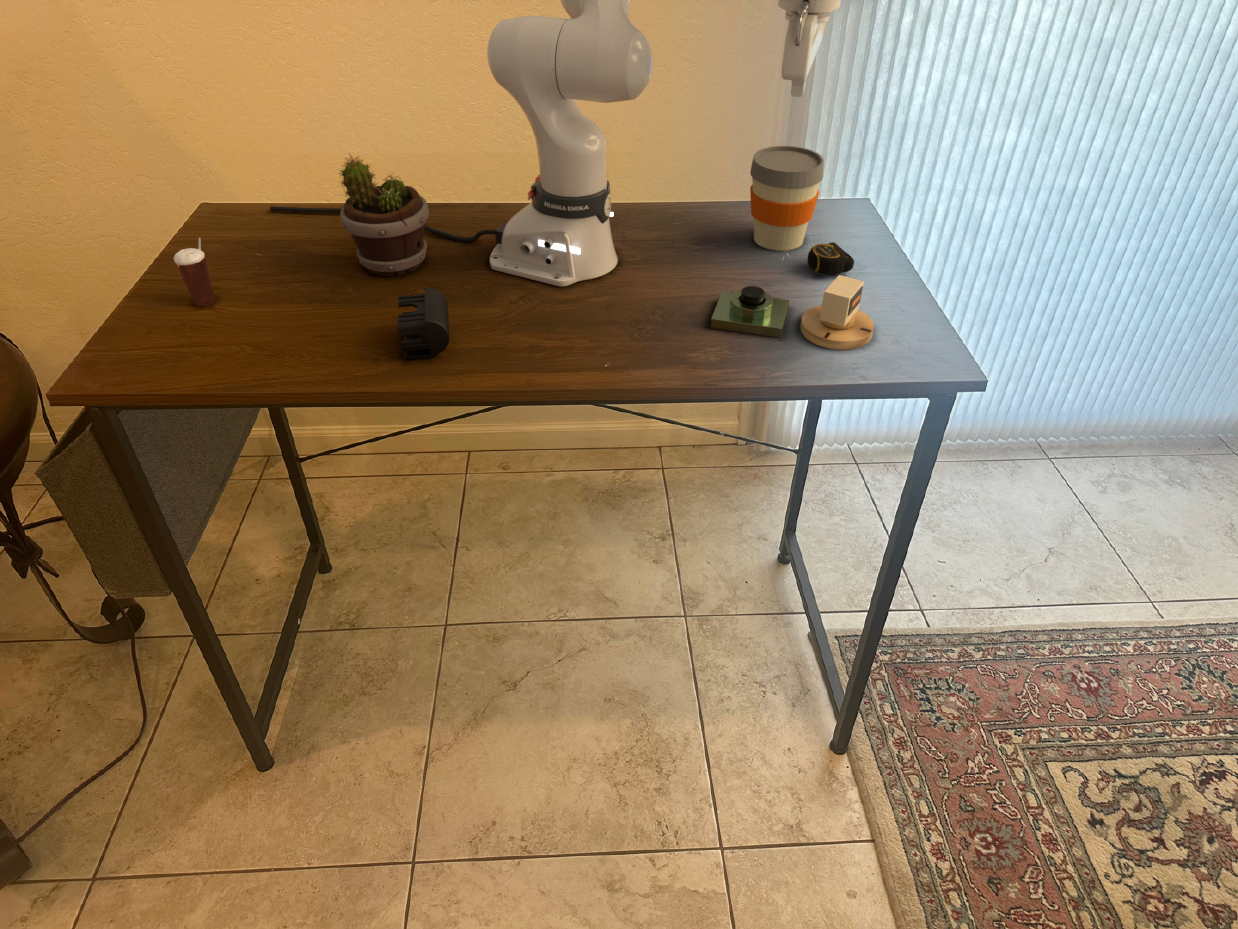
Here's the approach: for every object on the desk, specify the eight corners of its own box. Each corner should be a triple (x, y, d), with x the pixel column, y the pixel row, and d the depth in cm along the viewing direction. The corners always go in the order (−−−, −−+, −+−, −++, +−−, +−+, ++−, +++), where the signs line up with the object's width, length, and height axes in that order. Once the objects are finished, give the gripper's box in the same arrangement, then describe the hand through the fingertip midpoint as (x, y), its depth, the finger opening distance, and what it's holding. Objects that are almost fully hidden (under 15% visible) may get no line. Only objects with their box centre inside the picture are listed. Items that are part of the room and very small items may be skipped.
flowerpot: (441, 242, 158) (424, 132, 145) (429, 283, 146) (410, 167, 133) (361, 244, 157) (337, 134, 144) (344, 285, 146) (316, 169, 133)
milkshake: (229, 295, 143) (210, 240, 137) (205, 310, 140) (184, 254, 133) (209, 290, 145) (189, 234, 138) (184, 305, 141) (163, 248, 135)
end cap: (452, 357, 129) (446, 318, 124) (404, 362, 128) (396, 323, 123) (450, 323, 136) (444, 285, 132) (405, 327, 135) (397, 289, 131)
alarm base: (710, 328, 135) (711, 308, 132) (721, 300, 141) (722, 281, 139) (780, 338, 132) (783, 318, 130) (788, 309, 139) (791, 289, 137)
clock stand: (858, 357, 128) (860, 348, 127) (789, 337, 132) (790, 328, 131) (881, 323, 135) (883, 314, 134) (815, 305, 140) (816, 297, 139)
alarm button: (738, 305, 134) (739, 295, 133) (742, 294, 136) (743, 284, 135) (761, 308, 133) (762, 298, 132) (765, 297, 136) (766, 287, 134)
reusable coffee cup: (775, 261, 151) (785, 178, 141) (730, 235, 159) (736, 154, 149) (827, 243, 156) (840, 162, 147) (781, 218, 164) (791, 140, 155)
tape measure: (853, 276, 147) (857, 256, 145) (817, 282, 145) (821, 262, 143) (834, 258, 152) (837, 238, 150) (799, 264, 150) (802, 244, 148)
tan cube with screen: (860, 316, 134) (867, 282, 130) (846, 333, 130) (852, 299, 126) (829, 307, 136) (835, 273, 132) (815, 324, 132) (820, 290, 128)
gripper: (824, 12, 114) (810, 118, 123) (839, -22, 129) (825, 75, 138) (777, 9, 115) (766, 114, 124) (797, -25, 130) (786, 72, 139)
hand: (797, 93), depth 131 cm, fingers closed
